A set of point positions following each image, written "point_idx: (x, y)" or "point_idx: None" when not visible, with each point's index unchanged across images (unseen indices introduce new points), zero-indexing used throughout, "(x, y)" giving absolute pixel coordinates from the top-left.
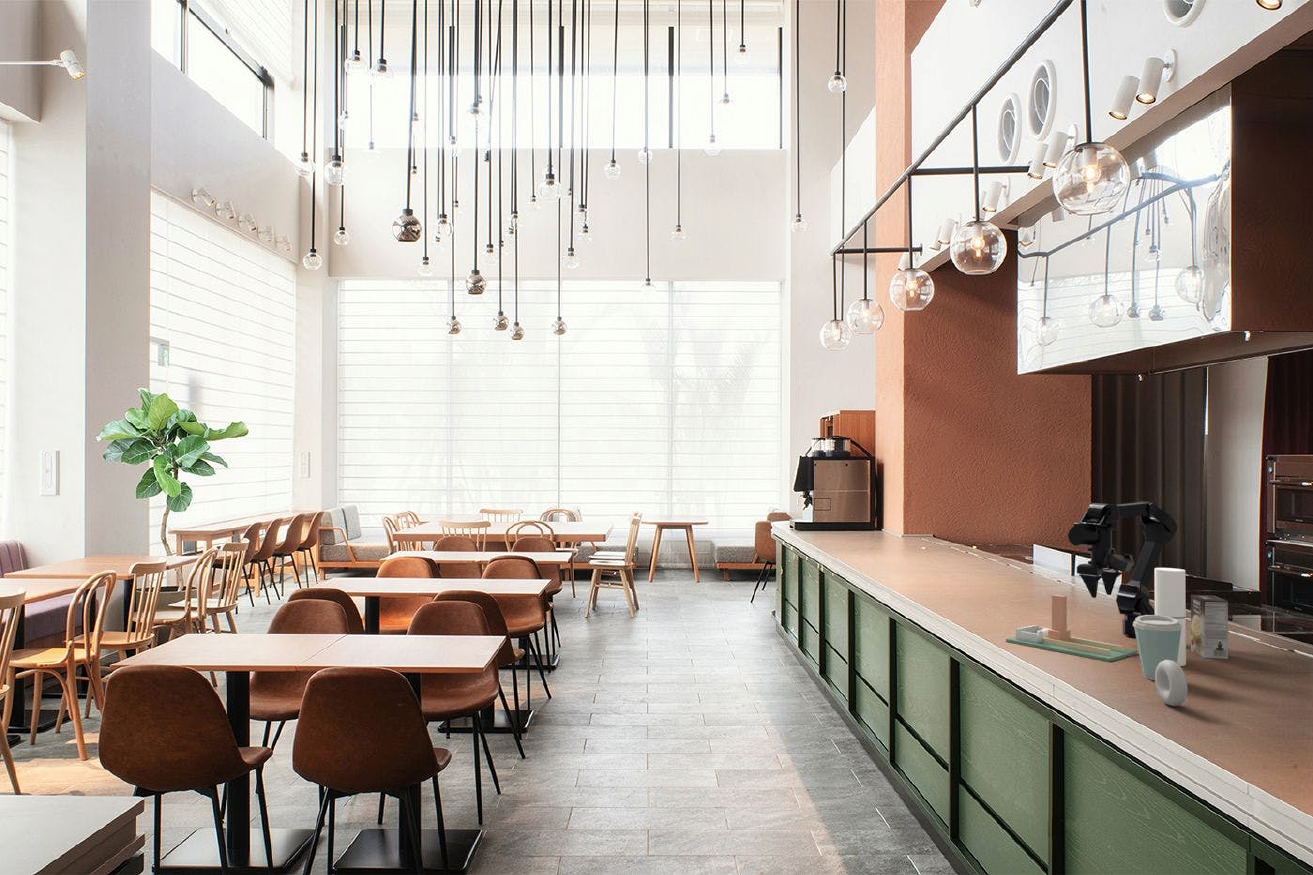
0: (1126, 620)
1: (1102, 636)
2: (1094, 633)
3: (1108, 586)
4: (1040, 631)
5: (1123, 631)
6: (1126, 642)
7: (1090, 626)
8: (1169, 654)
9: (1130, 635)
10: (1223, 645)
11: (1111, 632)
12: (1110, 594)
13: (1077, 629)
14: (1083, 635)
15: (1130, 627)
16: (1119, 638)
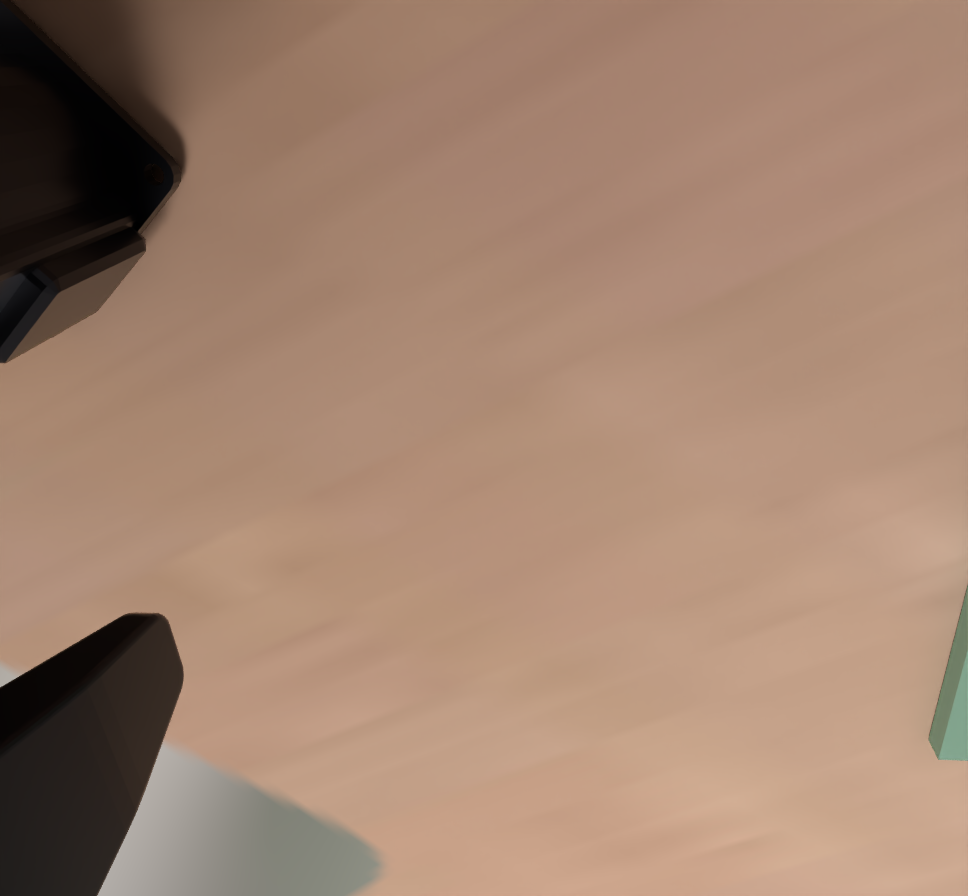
0: (22, 286)
1: (401, 377)
2: (335, 492)
3: (32, 847)
4: None
5: (110, 290)
6: (475, 26)
7: None
8: None
9: (144, 172)
10: None
11: (126, 424)
12: (151, 618)
13: (315, 651)
14: (532, 505)
15: (63, 207)
16: (326, 214)
